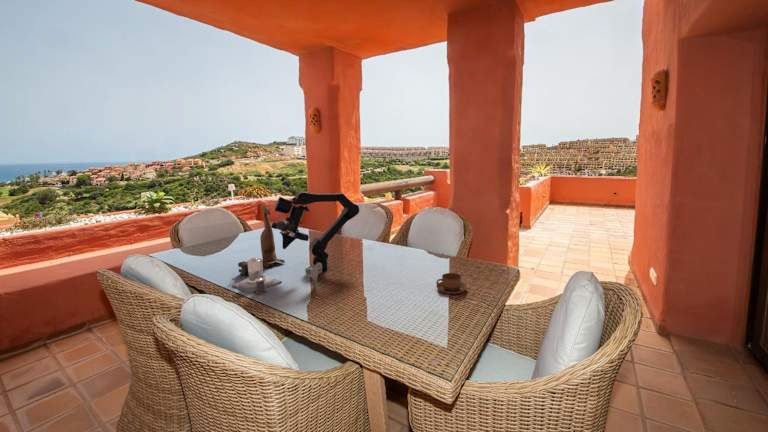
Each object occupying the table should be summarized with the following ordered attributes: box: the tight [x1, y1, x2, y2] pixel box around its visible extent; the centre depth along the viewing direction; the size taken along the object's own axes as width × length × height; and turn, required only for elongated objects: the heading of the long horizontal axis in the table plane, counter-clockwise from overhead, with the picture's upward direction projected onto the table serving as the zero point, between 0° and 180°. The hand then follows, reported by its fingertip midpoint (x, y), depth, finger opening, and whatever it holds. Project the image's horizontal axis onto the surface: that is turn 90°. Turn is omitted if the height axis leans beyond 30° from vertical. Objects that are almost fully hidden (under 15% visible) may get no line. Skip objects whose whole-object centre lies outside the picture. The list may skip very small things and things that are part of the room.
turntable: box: [231, 274, 283, 294], centre depth 152 cm, size 15×15×2 cm
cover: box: [246, 257, 266, 284], centre depth 151 cm, size 8×8×10 cm
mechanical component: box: [304, 263, 323, 290], centre depth 144 cm, size 3×10×10 cm, turn 161°
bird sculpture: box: [259, 203, 286, 269], centre depth 178 cm, size 11×12×32 cm
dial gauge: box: [254, 277, 268, 296], centre depth 142 cm, size 4×4×6 cm
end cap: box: [237, 259, 265, 278], centre depth 166 cm, size 10×7×7 cm
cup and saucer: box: [435, 272, 467, 295], centre depth 139 cm, size 12×12×6 cm
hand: (283, 248), depth 161 cm, fingers closed
